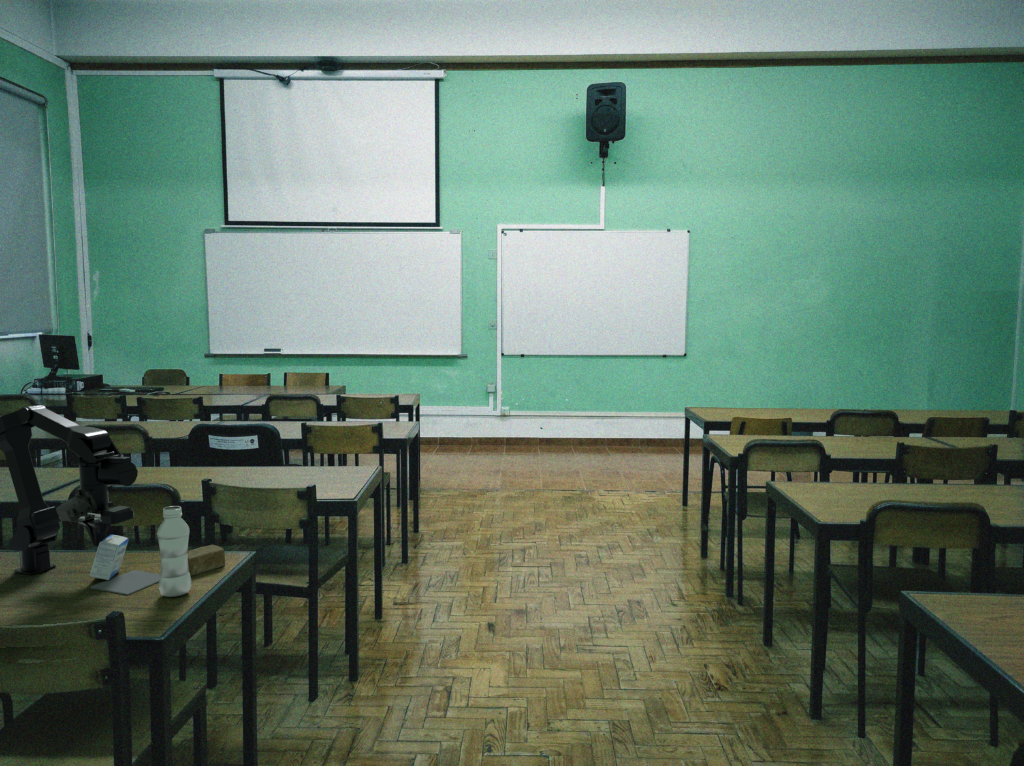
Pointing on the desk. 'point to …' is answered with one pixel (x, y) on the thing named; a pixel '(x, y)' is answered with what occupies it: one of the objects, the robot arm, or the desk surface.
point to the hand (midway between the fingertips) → (97, 546)
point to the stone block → (205, 559)
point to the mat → (128, 582)
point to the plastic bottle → (173, 553)
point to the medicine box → (109, 557)
